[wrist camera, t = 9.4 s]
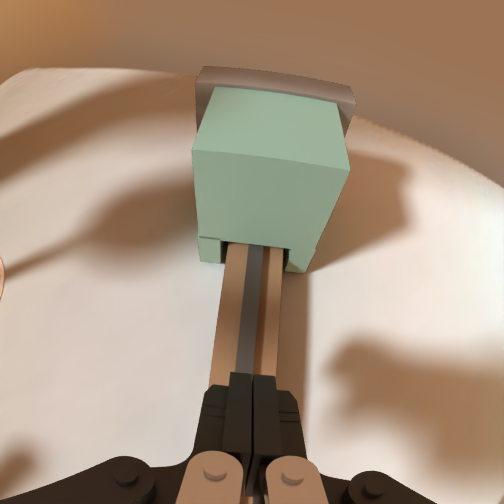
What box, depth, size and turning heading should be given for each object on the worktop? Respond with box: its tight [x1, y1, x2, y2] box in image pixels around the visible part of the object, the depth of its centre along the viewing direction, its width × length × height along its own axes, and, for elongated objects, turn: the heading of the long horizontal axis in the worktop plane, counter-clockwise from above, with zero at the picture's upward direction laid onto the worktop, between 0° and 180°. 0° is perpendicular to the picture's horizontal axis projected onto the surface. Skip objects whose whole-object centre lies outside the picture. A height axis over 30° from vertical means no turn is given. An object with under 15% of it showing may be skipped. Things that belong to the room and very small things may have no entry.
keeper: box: [192, 87, 350, 273], centre depth 16 cm, size 5×6×8 cm
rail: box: [195, 66, 356, 504], centre depth 13 cm, size 22×8×9 cm, turn 175°
